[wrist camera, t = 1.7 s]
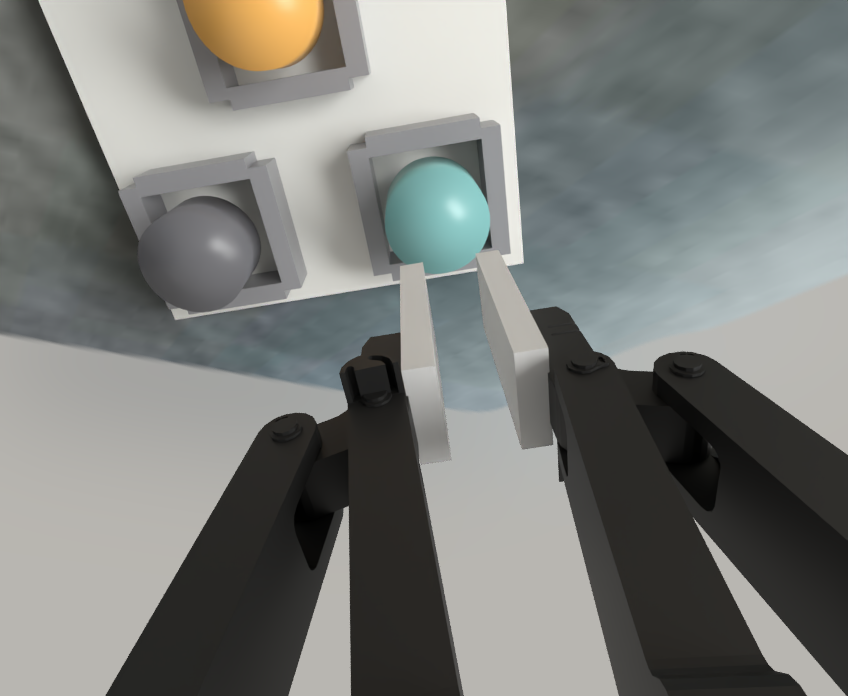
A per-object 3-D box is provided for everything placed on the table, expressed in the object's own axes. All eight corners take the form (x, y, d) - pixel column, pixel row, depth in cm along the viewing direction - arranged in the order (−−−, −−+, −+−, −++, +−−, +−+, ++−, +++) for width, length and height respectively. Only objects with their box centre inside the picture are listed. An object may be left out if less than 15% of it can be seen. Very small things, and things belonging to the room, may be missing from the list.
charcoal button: (185, 292, 30) (162, 319, 27) (150, 204, 28) (119, 223, 25) (272, 278, 30) (258, 303, 27) (244, 188, 28) (225, 205, 24)
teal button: (395, 257, 30) (395, 281, 27) (377, 165, 27) (375, 179, 24) (484, 242, 30) (494, 264, 26) (474, 148, 27) (484, 160, 24)
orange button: (231, 77, 25) (207, 81, 22) (192, -53, 23) (159, -70, 20) (335, 58, 25) (326, 59, 22) (307, -76, 22) (293, -95, 19)
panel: (186, 306, 35) (161, 336, 32) (31, -69, 26) (-32, -89, 22) (517, 252, 34) (531, 276, 31) (486, -157, 25) (502, -194, 21)
